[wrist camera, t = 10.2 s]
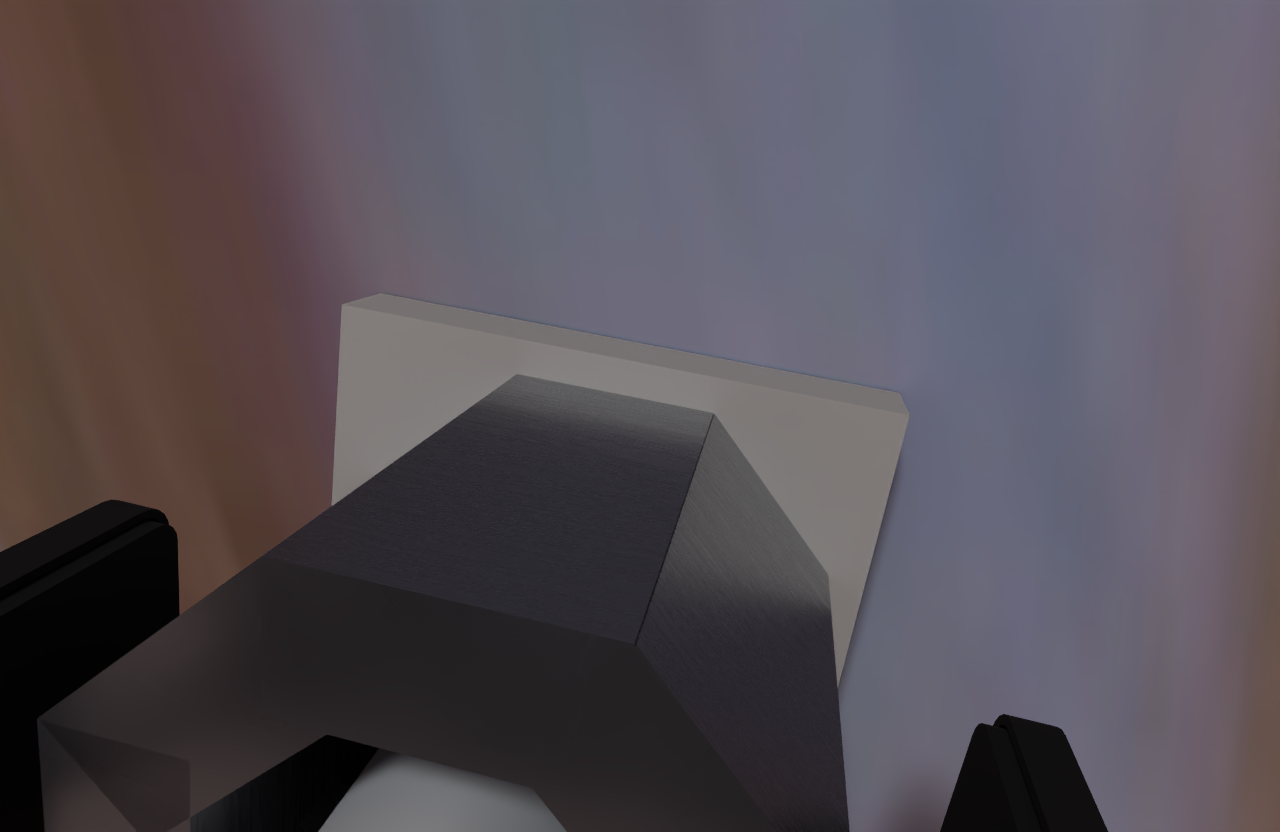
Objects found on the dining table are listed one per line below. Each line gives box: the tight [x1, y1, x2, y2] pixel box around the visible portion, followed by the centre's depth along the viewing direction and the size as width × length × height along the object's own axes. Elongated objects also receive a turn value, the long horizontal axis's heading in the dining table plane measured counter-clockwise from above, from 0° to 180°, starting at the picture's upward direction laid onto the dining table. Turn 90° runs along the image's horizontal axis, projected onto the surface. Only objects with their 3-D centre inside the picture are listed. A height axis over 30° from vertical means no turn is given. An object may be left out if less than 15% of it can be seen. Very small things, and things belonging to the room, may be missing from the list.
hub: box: [37, 374, 850, 832], centre depth 10 cm, size 7×7×6 cm
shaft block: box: [318, 293, 910, 832], centre depth 10 cm, size 8×8×7 cm
